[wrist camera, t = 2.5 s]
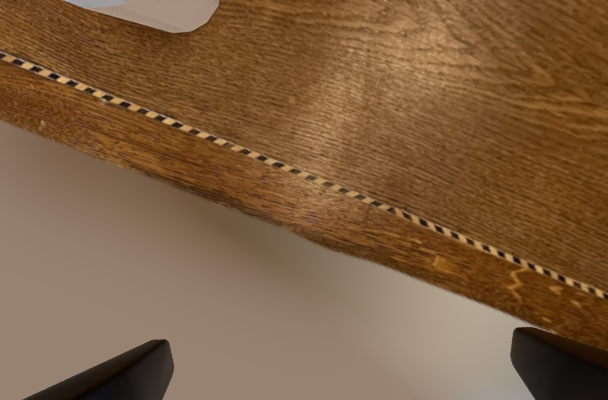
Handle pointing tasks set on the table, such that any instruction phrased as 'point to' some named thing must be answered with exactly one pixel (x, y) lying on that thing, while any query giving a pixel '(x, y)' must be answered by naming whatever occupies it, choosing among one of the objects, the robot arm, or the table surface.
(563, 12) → the table surface
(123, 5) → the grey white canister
